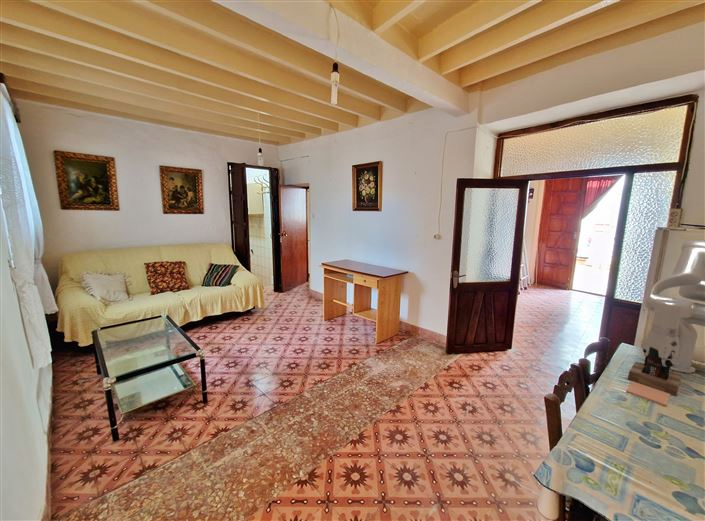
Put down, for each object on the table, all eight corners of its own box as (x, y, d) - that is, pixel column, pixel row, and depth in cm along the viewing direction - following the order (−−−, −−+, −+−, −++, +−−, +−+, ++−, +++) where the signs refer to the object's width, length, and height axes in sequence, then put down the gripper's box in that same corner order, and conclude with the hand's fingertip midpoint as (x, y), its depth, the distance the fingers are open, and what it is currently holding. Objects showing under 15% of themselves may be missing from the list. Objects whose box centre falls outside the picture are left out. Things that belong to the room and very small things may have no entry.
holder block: (634, 369, 132) (635, 361, 132) (679, 383, 121) (681, 375, 121) (627, 379, 124) (629, 371, 123) (676, 396, 113) (678, 387, 112)
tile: (631, 382, 122) (632, 381, 121) (669, 395, 113) (670, 394, 113) (626, 392, 115) (626, 390, 115) (666, 406, 106) (666, 404, 106)
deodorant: (663, 382, 122) (670, 349, 120) (663, 387, 118) (670, 353, 116) (643, 376, 127) (650, 344, 124) (643, 381, 123) (649, 348, 120)
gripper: (696, 339, 110) (687, 382, 113) (653, 322, 127) (646, 360, 130) (675, 338, 110) (666, 381, 113) (635, 321, 127) (628, 359, 130)
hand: (655, 369), depth 122 cm, fingers closed on deodorant, 5 cm apart
